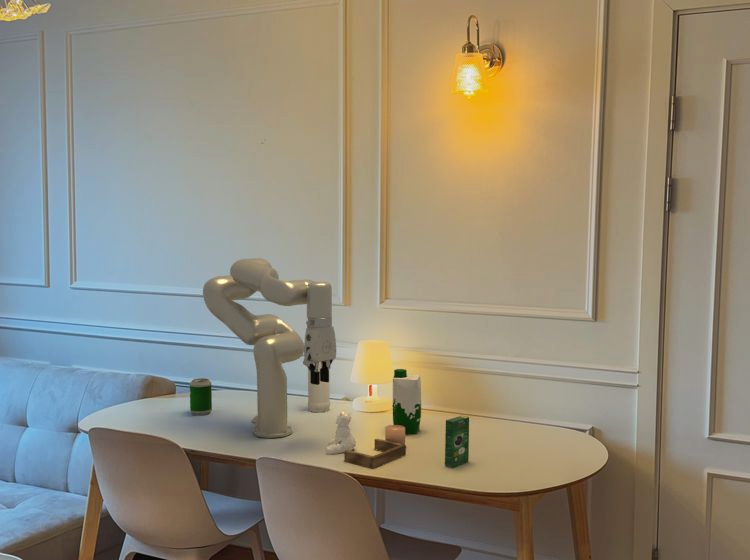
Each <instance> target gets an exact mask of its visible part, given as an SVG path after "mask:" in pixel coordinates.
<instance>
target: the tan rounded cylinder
mask: <svg viewBox="0 0 750 560" xmlns="http://www.w3.org/2000/svg"><path fill="white" fill-rule="evenodd" d="M384 440H386V441H390V442H395V443H399V444H404V445H406V434H405V427H404V426H401V425H393V424H389V425H386V426H385V427H384Z"/></svg>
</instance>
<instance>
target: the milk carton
mask: <svg viewBox="0 0 750 560" xmlns="http://www.w3.org/2000/svg"><path fill="white" fill-rule="evenodd" d="M393 372H394V373H393V378H392V423H393V424H392V425H401V426H404V427H405V435H412V434H416V435H417V433H418V431H419V430H420V425H421V418H422V383H421V382H422V381H421V380H422V379H421V375H420V374H410V373H409V374H407V369H406V368H405V369H404V368H395V369H394V370H393Z"/></svg>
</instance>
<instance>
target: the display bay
mask: <svg viewBox="0 0 750 560" xmlns="http://www.w3.org/2000/svg"><path fill="white" fill-rule="evenodd" d="M375 449H377V450H376V451H380V450H381V451H380V453H377V454H375V455H369V454H366V453H362V452H357V451H353V450H351V451H350V450H345V451H344V454H343V458H344V459H343V461H344V462H346V463H350V464H354V465H358V466H362V467H365V468H369V469H374V470H375V469H377V468H379V467H382V466H384V465H386V464H388V463H390V461H391V462H393V461H395V460H398V459H400V458H403V457H404V456H407V455H406V454H407V445H406V444H405V445H404V444H399V443H395V442H390V441H386V440H385V439H382V438H375V439H374V450H375ZM384 451H385V452H384ZM402 456H403V457H402ZM397 458H398V459H397ZM385 463H386V464H385ZM383 464H384V465H383Z"/></svg>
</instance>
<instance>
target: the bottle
mask: <svg viewBox="0 0 750 560" xmlns="http://www.w3.org/2000/svg"><path fill="white" fill-rule="evenodd" d="M313 361H314V360H313ZM313 365H314V366H315V363H313ZM320 368H322V367H321V362H319V366H318V372H320ZM330 390H331V389H330V381H329V382H321V381H320V384H319V385H315V384H311V382H310V371H309V368H308V367H307V398H308V399H307V400H308V401H307V407H308V408H307V409H308V412H310V411H312V412H311V413H315V412H321V413H325V412H324V411H327V412H329V411H330V410H331V409H330V408H331V402H330V400H331V399H330V396H331V395H330ZM328 410H329V411H328Z"/></svg>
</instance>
